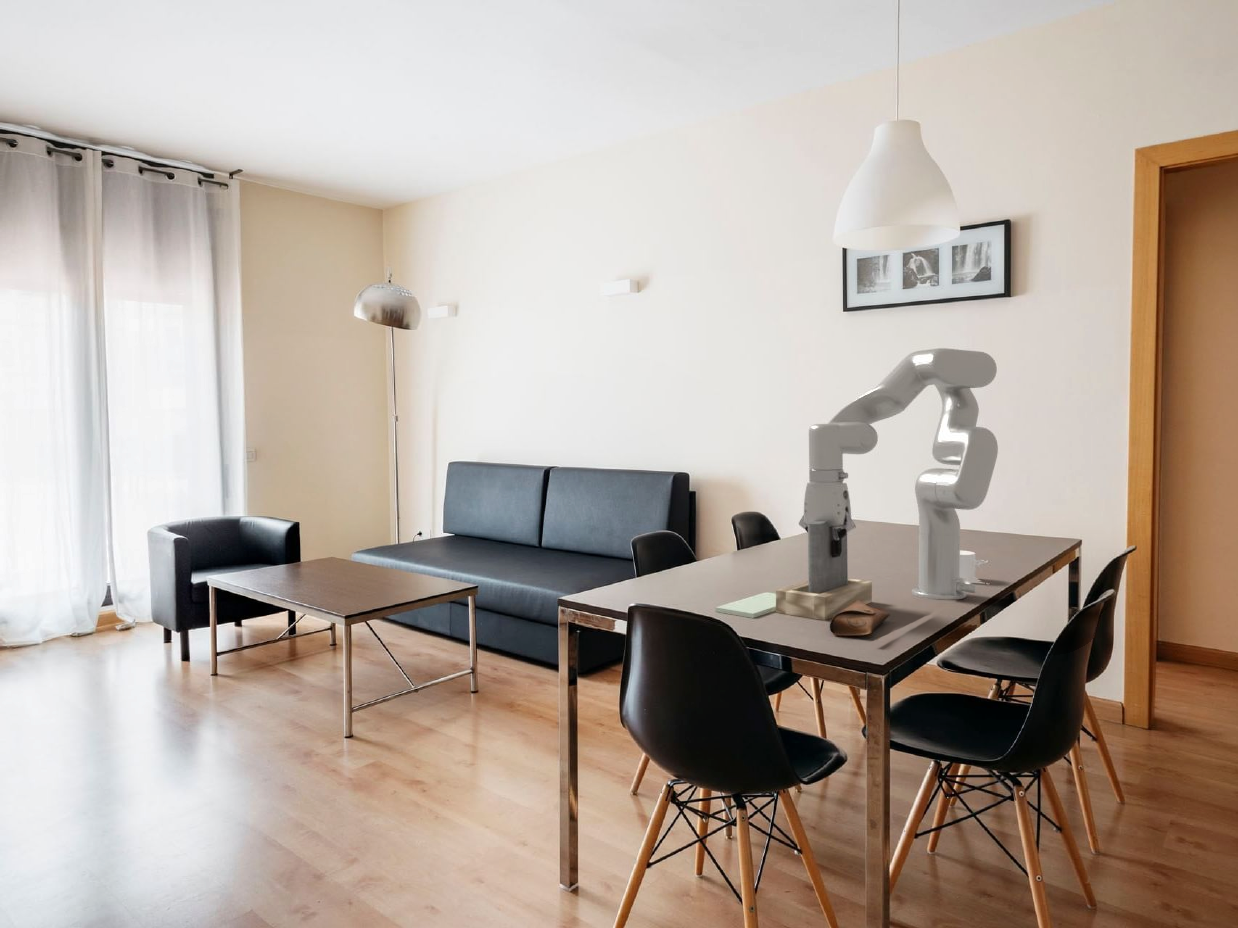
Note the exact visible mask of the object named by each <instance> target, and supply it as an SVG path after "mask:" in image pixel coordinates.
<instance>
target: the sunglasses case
mask: <svg viewBox="0 0 1238 928" xmlns="http://www.w3.org/2000/svg"><path fill="white" fill-rule="evenodd" d="M890 616H891V613H889V612H887V611H885V610H882V609H879V608H876V607H872V606H869V605H868V604H864V603H862V602H860V601H858V600H856V601H855V602H854V603H853V604H852V605H850V606H848V607H847V608H845V609H844V610H843V611H841V612H840V613H838V614H836V615H835V616H834V617H832V618H831V620H830V622H829V631H830V632H831V633H832V634H833V635H834V636H837V637H838V636H842V637H857V636H865V635H867V636H868V635H870V634H872V633H873V631H874V630H875V629H876V628H877V627H878V626H880V625H881V624H882V623H883V622H884V621H885V620H887V619H888V618H889V617H890Z"/></svg>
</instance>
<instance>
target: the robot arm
mask: <svg viewBox="0 0 1238 928" xmlns="http://www.w3.org/2000/svg"><path fill="white" fill-rule="evenodd" d="M997 369H998V368H997V363H996V361H995V360H994V358H993V356H991V355H990V354H988V353H986V352H983V351H978V350H977V351H976V350H969V349H968V350H966V349H955V348H945V347H941V348H931V349H925V350H924V349H923V350H917V351H913V352H911V353H909V354H908V355H906V356H905V357H904V358H903V359H902V360H901V361H900V362H899V363H898V364H897V365H896V366H895V367H894V368H893V369H892V370H891V371H890V373H889V374H887V376H886V377H885V378H883V379H882V380H881V382H880V383H878V384H877V385H876V386H875V387H874V388H872V389H871V390H869V391H867V392H865V393H864V394H862V395H861V396H859V397H857V398H856V399H854V400H853V401H851V402H849V403H848V404H847V405H845V406H844V407H843V408H841V409H840V410H839V411H838V412H837V413H836V414H835V415H834V416H833V417H832V418H831V419H830V420H828V422H827V423H816V424H812V425H811V426H810V427H809V429H808V469H809V470H808V471H809V473H808V475H809V477H808V478H809V482H807V483H806V487H805V490H804V491H805V492H804V493H805V494H804V500H803V515H802V517H801V518H800V520H799V522H798V525H799V526H800V527H801V528H803V529H804V530H805V531H806V533H808V523H809V522H812V521H827V522H828V526H829V527H832V532H833V537H834V540H832V541H831V550H832V557H833V558H836V557H839V556H840V555H841V552H842V539H843V538H844V536H845V535H846V534H847V535H848V533H850V532H851V531H853V530H855V529H856V528H857V527H856V526H857V525H856V524H855V522H854V521H853V519H852V509H851V508H852V507H851V499H850V492H849V489H848V484H847V482H844V480H845V479H849V473H848V472H845V471H844V470H845V469H844V468H843V467H844V466H843V465H844V463H843V462H844V461H843V460H844V457H843V456H844V455H843V454H846V455H847V454H848V455H864V454H867V453H869V452H871V451H872V450H874V448H875V447H876V445H877V444H878V438H879V435H878V433H877V430H876V429H875V428H874V427H873V426H872V424H874V423H877V422H879V421H883V420H886V419H889V418H891V417H894V416H896V415H898V414H900V413H902V412H904V411H905V410H906V409H907V408H908V407H909V406H910V405H911V404H912V402H913V401H914V400H915V399H916V398H917V397H918V396H920V394H921V393H922V392H923V391H924V390H925V389H926V388H927V387H928V386H935V388H936V389H937V392H938V393H939V395H940V399H941V404H942V407H941V414H940V418H939V421H938V425H937V429H936V433H935V435H934V439H933V443H932V448H931V449H932V451H931V452H932V456H933V458H934V460H936V462H938V463H940V464H943V465H946V466H947V465H950V466H959V469H955V468H941V467H940V468H937V467H936V468H935V467H934V468H930V469H926V470H924V471H923V472H921V473H920V474H919V475H918V476H917V479H916V480H915V483H914V492H915V493H914V494H915V497H916V503H917V509H918V527H919V528H918V586H915V587H913V588H912V589H911V593H912V595H913V596H916V597H919V598H924V599H928V600H929V599H931V600H940V601H941V600H943V601H944V600H947V601H948V600H949V601H954V600H957V601H958V600H962V599H965V598H966V597H967V593H973V594H976V593H977V591H978V585H976V583H971V584H965V582H964V578H960V550H961V522H960V519H959V515H958V513H957V511H956V510H962V511H963V510H964V511H969V510H970V511H971V510H975V509H977V508H979V507H980V506H981V505H982V504H983V502H985V499H986V497H987V493H988V491H989V488H990V485H991V480H992V477H993V474H994V470H995V466H996V462H997V458H998V454H999V445H998V441H997V438H996V436H995V434H994V433H993V432H992V431H991V430H990V429H988V428H986V427H981V426H977V422H978V418H979V413H980V412H979V411H980V409H979V404H978V402H977V398H976V396H975V395H974V393H973V391H972V389H977V388H978V389H979V388H980V389H981V388H983V387H987V386H989V385H990V384H991V383H992V382H993V381H994V380H995V378H996V377H997V376H996V375H997V371H998V370H997ZM842 525H847V526H846V527H845V528H843V529H842Z"/></svg>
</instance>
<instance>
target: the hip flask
mask: <svg viewBox="0 0 1238 928" xmlns="http://www.w3.org/2000/svg"><path fill="white" fill-rule="evenodd" d="M846 526H847V525H842V529H843V528H845V527H846ZM832 540H834V537H833V532H832V527H829V526H828V522H827V521H812V522H809V523H808V532H807V552H808V553H807V558H808V561H807V563H808V566H807V567H808V581H809V593H815V594H821V593H824V592H827V591H830V590H833V589H836V588H840V587H843V586H846V585H848V578H849V577H848V576H849V575H848V570H849V569H848V533H847V534H846V535H845V536H844V538H843V539H842V552H841V555H840V556H839V557H836V558H833V557H832V550H831V541H832Z"/></svg>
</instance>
